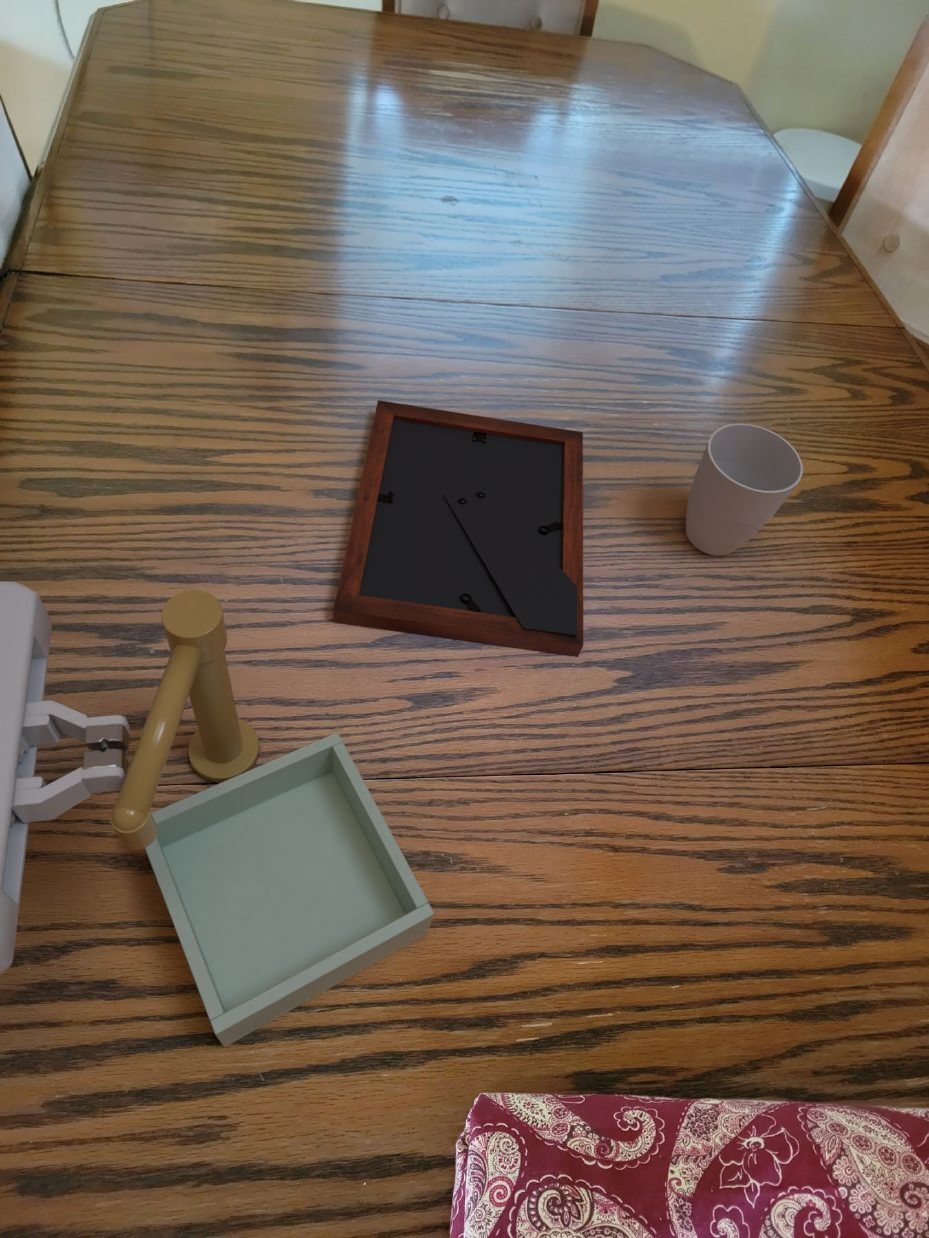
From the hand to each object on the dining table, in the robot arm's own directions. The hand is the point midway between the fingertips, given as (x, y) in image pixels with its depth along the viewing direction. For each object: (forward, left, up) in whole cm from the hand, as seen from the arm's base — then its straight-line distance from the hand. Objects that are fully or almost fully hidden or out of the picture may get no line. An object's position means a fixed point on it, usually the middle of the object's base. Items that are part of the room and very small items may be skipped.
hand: (126, 751), depth 42 cm
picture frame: (+36, -8, -16) cm, 40 cm away
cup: (+45, -29, -16) cm, 56 cm away
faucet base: (+8, +1, -16) cm, 17 cm away
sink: (+1, -8, -16) cm, 17 cm away
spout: (+3, 0, -3) cm, 4 cm away
